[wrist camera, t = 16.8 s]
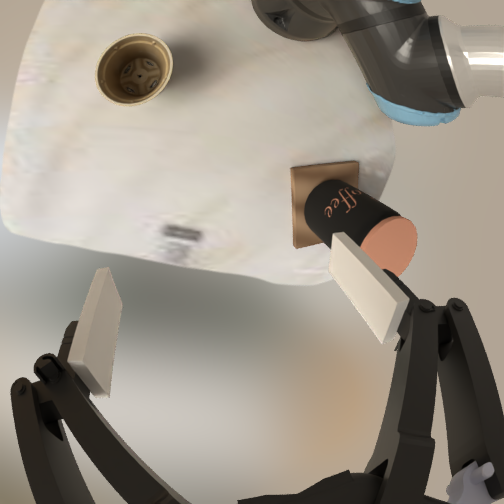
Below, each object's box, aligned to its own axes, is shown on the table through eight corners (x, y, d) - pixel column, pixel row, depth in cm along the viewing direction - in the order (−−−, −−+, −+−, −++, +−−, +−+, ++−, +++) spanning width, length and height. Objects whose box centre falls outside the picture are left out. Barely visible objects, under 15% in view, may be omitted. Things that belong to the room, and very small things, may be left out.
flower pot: (117, 45, 29) (105, 31, 21) (179, 50, 32) (181, 37, 25) (103, 104, 33) (88, 104, 25) (164, 109, 36) (163, 109, 29)
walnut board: (290, 167, 46) (294, 169, 45) (354, 160, 48) (358, 162, 47) (293, 245, 54) (296, 248, 52) (350, 231, 56) (354, 235, 55)
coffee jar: (352, 173, 48) (423, 211, 33) (350, 225, 53) (410, 275, 38) (299, 182, 46) (362, 227, 31) (302, 237, 52) (355, 297, 37)
